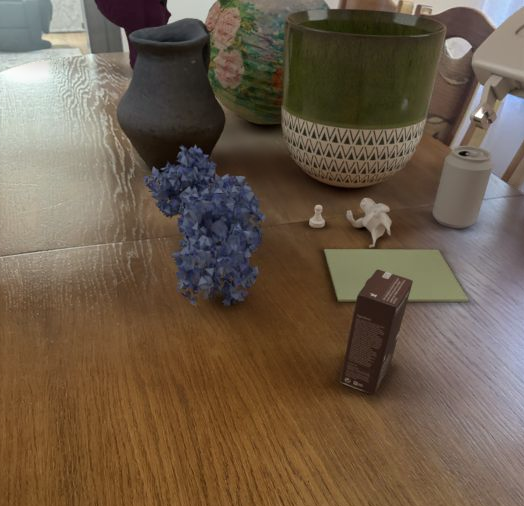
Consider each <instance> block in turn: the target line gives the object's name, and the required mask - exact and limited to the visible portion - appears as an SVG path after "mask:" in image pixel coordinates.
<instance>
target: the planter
mask: <svg viewBox="0 0 524 506" xmlns="http://www.w3.org/2000/svg"><path fill="white" fill-rule="evenodd" d="M447 29H448V28H447V26H446V24H444V23H443V22H441V21H438V20H436V19H432V18H429V17H425V16H420V15H415V14H410V13H403V12H395V11H388V10H377V9H361V8H360V9H358V8H330V9H317V10H306V11H299V12H294V13H291V14H289V15H287V16H286V17H285V23H284V41H283V75H282V108H281V121H282V123H281V130H282V136H283V140H284V144H285V147H286V150H287V152H288V155H290V157H291V159H292V160H293V161H294V163H296V165H297V166H298V167H299V168H300V169H301V170H302V171H303V172H304V173H305V174H306V175H308V176H309V177H310V178H313V179H314V180H317V182H320V183H323V184H326V185H329V186H333V187H338V188H349V189H350V188H352V189H355V188H356V189H357V188H365V187H370V186H373V185H376V184H379V183H381V182H383V181H386V180H388V179H389V178H391V177H393V176H394V175H396V174H397V173H398V172H400V171H401V170H402V169H403V168H405V166H406V165H407V164H408V163H409V162H410V161H411V159H412V157H414V155H415V152H416V151H417V149H418V147H419V145H420V142H421V140H422V137H423V134H424V131H425V128H426V124H427V119H428V115H429V110H430V106H431V103H432V99H433V93H434V88H435V84H436V80H437V75H438V70H439V66H440V61H441V58H442V53H443V50H444V44H445V40H446V33H447Z"/></svg>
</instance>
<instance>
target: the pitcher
mask: <svg viewBox="0 0 524 506" xmlns="http://www.w3.org/2000/svg"><path fill="white" fill-rule="evenodd" d="M204 23H205V22H204V21H202V20H201V19H199V18H193V17H184V18H181V19H178V20H176V21H173V22H170V23H168V24H167V25H163V26H160V27H151V28H145V29H140V30H137V31H134V32H132V33H131V34H130V35H129V40H130V42H131V44H132V45H133V47H134V48H135V49H136V51H137V54H138V55H137V59H136V62H135V65H134V70H132V76H131V80H130V82H129V84H128V87H127V89H126V90H125V92H124V93H123V95H122V96H121V98H120V100H119V102H118V104H117V106H116V118H117V123H118V125H119V128H120V129H121V130H122V132H123V133H124V135H125V136H126V138H127V139H128V140H129V143H131V145H132V147H133V149H134V151H136V153H137V155H138V156H139V158H140V159H141V160H142V161H143V163H144V164H145V165H146V167H147V168H148V169H149V171H151V172H152V171H153V167H155V168H156V169H158V171H159V172H160V173H162V172H163V173H164V171H163V170H161V169H162V168H166V167H167V166H166V165H167V164H168V162H169V163H170V165H171V166H172V165H174V164H175V165H174V167H176V166H177V165H180V166H182V165H181V163H180V162H177V160H179V158H177V156H178V154H179V152H182V150H181V148H180V147H182V146H184V147H185V148H186V149H187V152H186V153H188V154H190V153H189V151H188V150H189V149H190V148H191V147H193V148H194V146H195V144H196V147H197V150H198V149H199V148H200V150H202V153H203V155H209V156H208V158H207V159H208V160H210V158H211V155H212V153H213V151H214V149H215V147H216V145H217V143H218V141H219V140H220V138H221V136H222V133H223V131H224V130H225V125H226V121H227V119H226V114H225V111H224V109H223V107H222V104H221V103H220V101H219V100H218V98H217V97H216V96H215V94H214V92H213V89H212V86H211V84H210V81H209V79H208V76H207V75H208V71H209V65H210V55H211V46H210V36H209V32H208V29H207V26H206V25H205V24H204ZM195 155H196V154H195ZM197 155H198V154H197ZM198 157H199V156H198ZM199 158H200V157H199ZM167 161H168V162H167ZM171 166H168V167H171ZM183 166H184V165H183ZM184 168H185V166H184ZM186 168H187V167H186ZM188 168H190V167H188ZM193 169H194V168H193ZM200 169H201V168H200ZM197 170H198V168H197ZM163 173H162V174H163Z"/></svg>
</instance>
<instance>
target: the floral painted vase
mask: <svg viewBox="0 0 524 506" xmlns="http://www.w3.org/2000/svg"><path fill="white" fill-rule="evenodd" d="M317 9H331V7H330V6H329V4H328V3H327V2H326V1H325V0H216V1H214V3H213V4H211V7H210V8H209V10H208V13H207V16H206V17H205V21H204V22H203V23H204V24H205V25H206V26H207V29H208V32H209V36H210V46H211V55H210V65H209V71H208V75H207V76H208V79H209V81H210V84H211V86H212V89H213V92H214V94H215V97H216V99H217V101H218V102H219V103H220V104H221V105H223V107H225V108H226V109H228V110H229V111H230V112H231V113H232V114H234V115H236V116H238V117H240V118H241V119H243V120H245V121H248V122H250V123H253V124H257V125H282V121H281V108H282V75H283V41H284V23H285V17H286V16H287V15H289V14H291V13H294V12H299V11H306V10H317Z"/></svg>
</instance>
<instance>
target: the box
mask: <svg viewBox="0 0 524 506" xmlns="http://www.w3.org/2000/svg"><path fill="white" fill-rule="evenodd" d="M412 283H413V280H410V279H407V278H404V277H401V276H398V275H394V274H391V273H388V272H385V271H382V270H376V271H375V272H374V274H373V275H372V277H371V278H369V279H368V280H367V281H366V283H365V286H364V287H363V288H362V290H361V291H360V292H359V293H358V295H357V299H356V302H355V305H354V309H353V315H352V320H351V324H350V329H349V334H348V338H347V344H346V348H345V349H346V350H345V355H344V359H343V364H342V369H341V373H340V379H339V382H340V383H341V384H342V385H344V386H346V387H349V388H351V389H354V390H358V391H361V392H362V393H363V392H364V393H367V394H369V395H373V396H374V395H375V394H376V392H377V390H378V388H379V386H380V384H382V383H381V382H382V381H383V379H384V377H385V375H386V374H387V372H388V370H389V369H390V368H391V363H392V360H393V357H394V353H395V349H396V346H397V342H398V338H399V334H400V331H401V327H402V322H403V318H404V315H405V311H406V309H407V304H408V302H407V301H408V297H409V294H410V290H411V287H412Z"/></svg>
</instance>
